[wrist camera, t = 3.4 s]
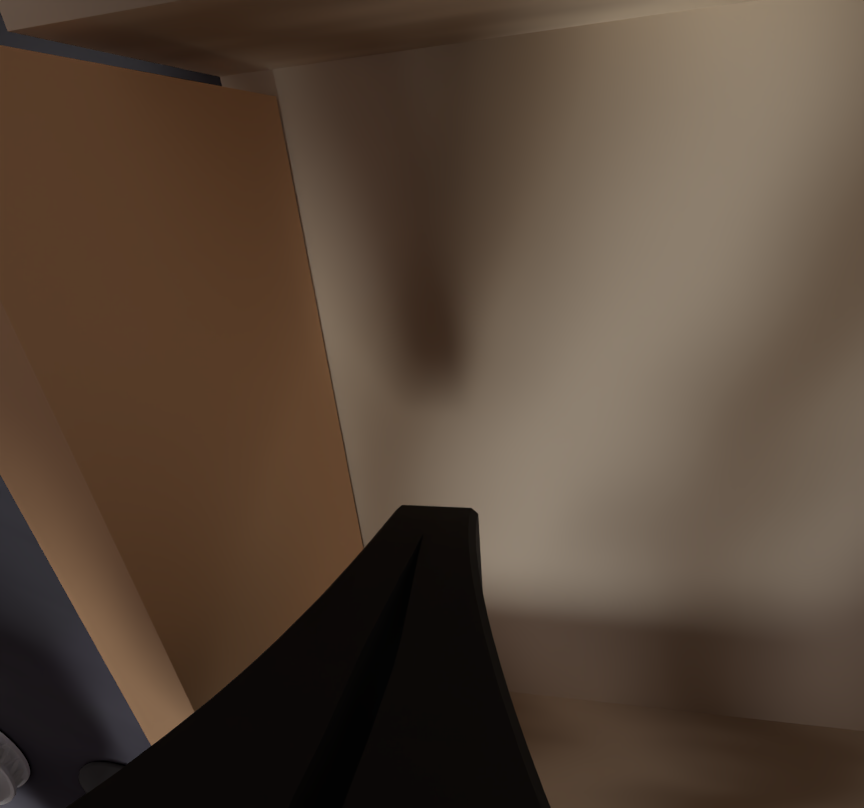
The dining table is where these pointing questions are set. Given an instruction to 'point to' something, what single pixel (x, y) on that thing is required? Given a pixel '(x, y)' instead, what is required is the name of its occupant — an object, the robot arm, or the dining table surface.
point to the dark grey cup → (96, 774)
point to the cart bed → (593, 346)
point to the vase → (11, 769)
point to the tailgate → (164, 372)
